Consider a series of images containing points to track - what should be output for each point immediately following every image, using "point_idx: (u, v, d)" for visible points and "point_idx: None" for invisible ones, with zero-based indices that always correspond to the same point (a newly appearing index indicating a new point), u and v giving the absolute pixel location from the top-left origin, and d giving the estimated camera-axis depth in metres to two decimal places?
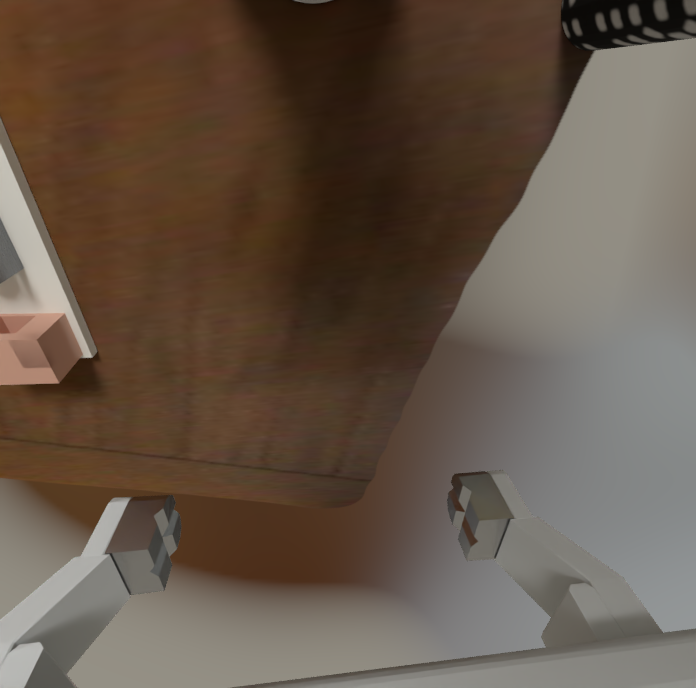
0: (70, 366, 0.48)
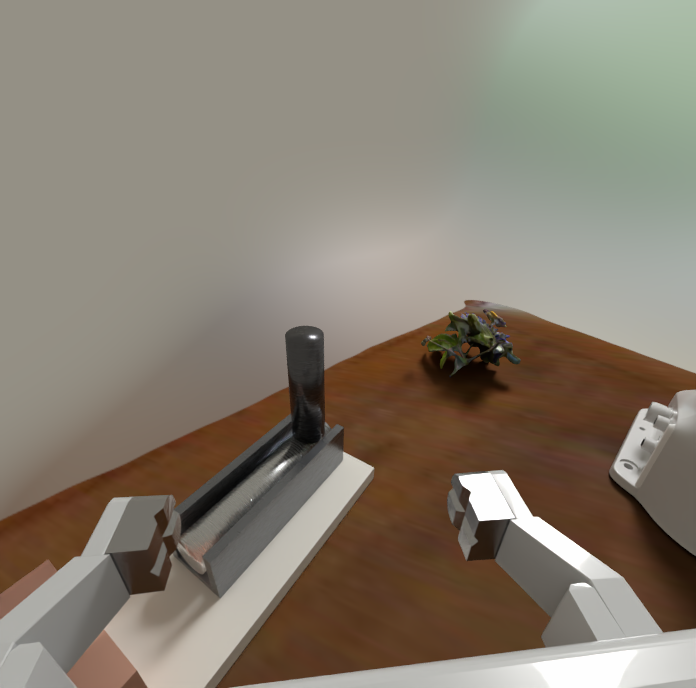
0: None
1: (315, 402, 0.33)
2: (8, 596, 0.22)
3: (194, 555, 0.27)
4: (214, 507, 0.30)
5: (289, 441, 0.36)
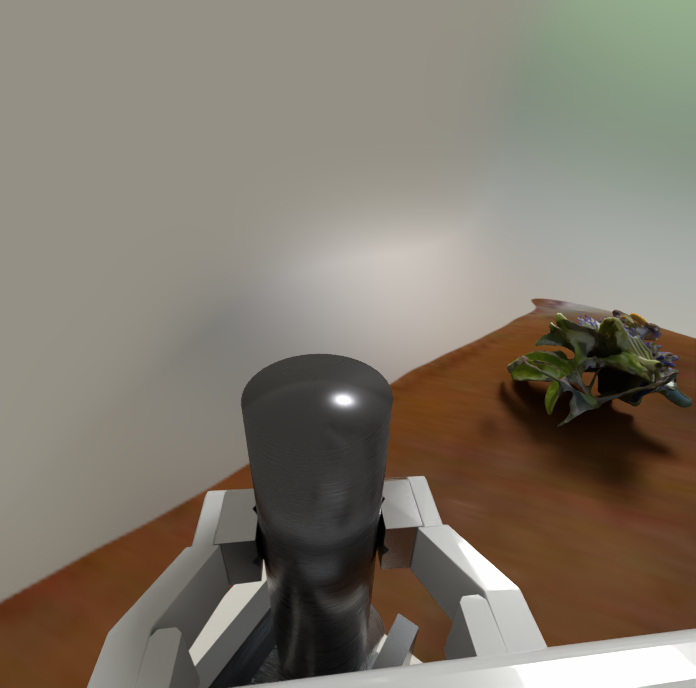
0: None
1: (350, 609, 0.10)
2: None
3: None
4: None
5: None
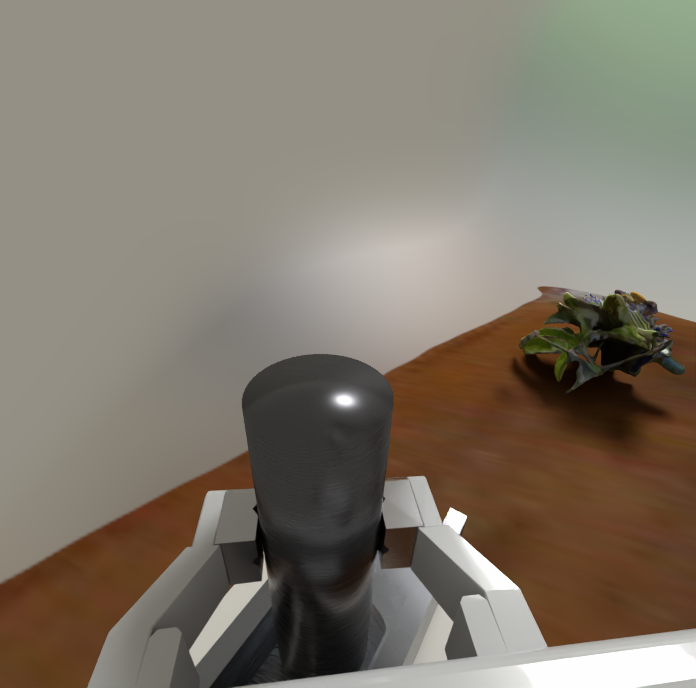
0: None
1: (351, 609, 0.10)
2: None
3: None
4: None
5: (268, 682, 0.12)
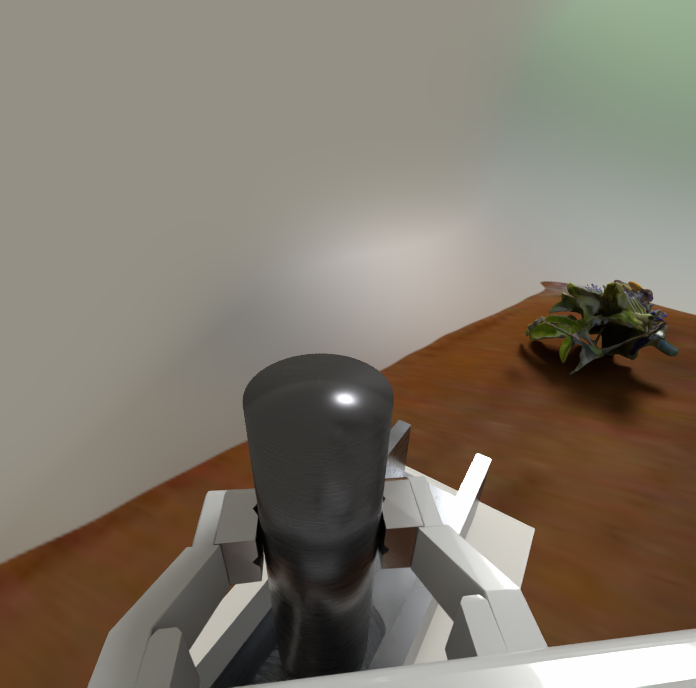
0: None
1: (351, 609, 0.10)
2: None
3: None
4: None
5: None
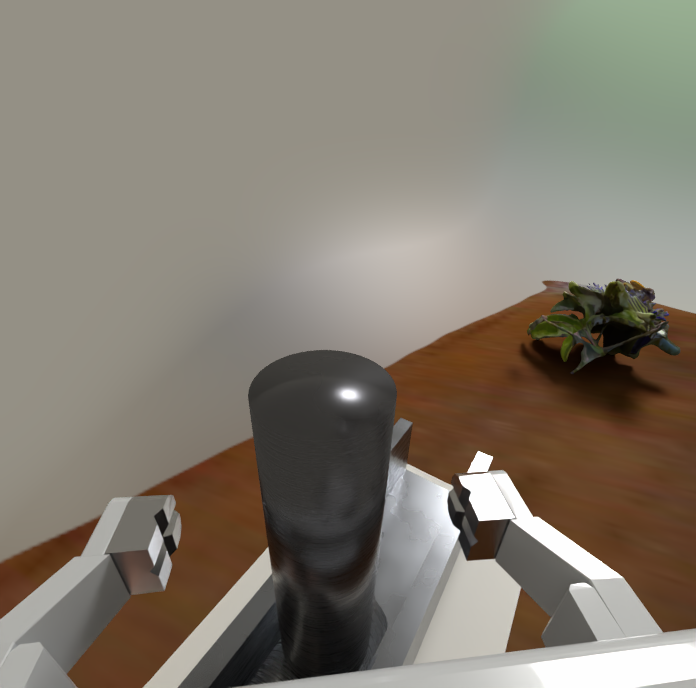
0: None
1: (354, 602, 0.10)
2: None
3: None
4: None
5: (272, 677, 0.12)
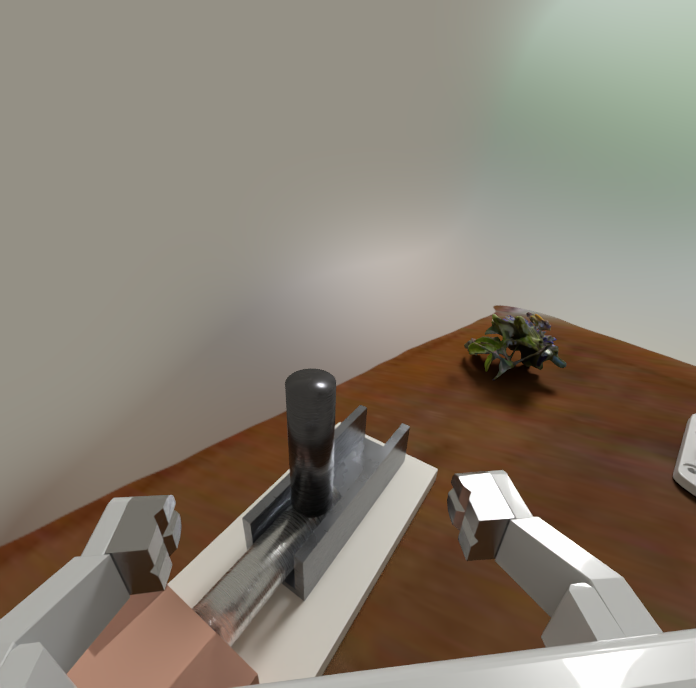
0: None
1: (322, 468, 0.25)
2: None
3: None
4: None
5: (287, 513, 0.28)
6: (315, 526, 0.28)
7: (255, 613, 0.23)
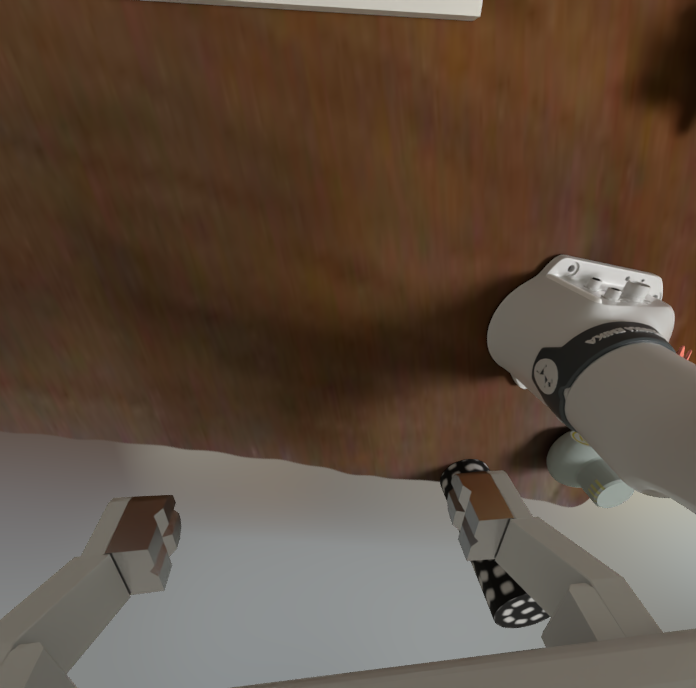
0: None
1: None
2: None
3: None
4: None
5: None
6: None
7: None
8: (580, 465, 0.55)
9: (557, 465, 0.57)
